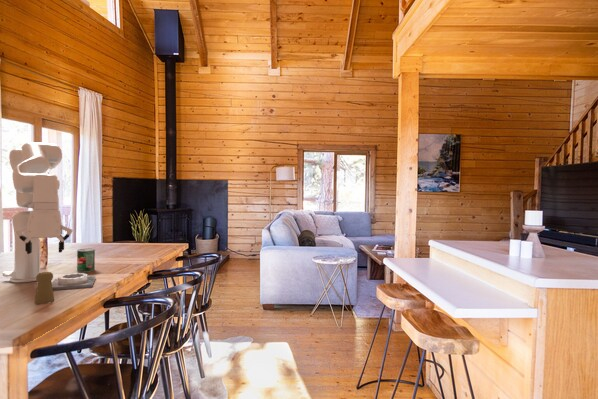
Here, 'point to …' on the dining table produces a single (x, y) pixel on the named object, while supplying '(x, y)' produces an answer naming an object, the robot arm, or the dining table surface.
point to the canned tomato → (85, 260)
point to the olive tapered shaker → (44, 288)
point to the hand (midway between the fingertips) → (45, 252)
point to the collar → (73, 281)
